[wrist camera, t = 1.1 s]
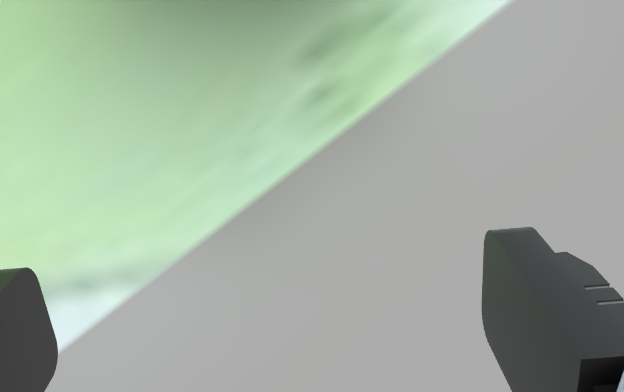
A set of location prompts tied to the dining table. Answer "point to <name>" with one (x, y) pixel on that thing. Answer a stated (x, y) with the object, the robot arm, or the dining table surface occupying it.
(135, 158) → the dining table surface
